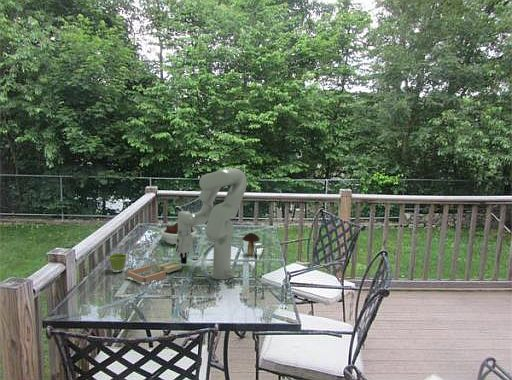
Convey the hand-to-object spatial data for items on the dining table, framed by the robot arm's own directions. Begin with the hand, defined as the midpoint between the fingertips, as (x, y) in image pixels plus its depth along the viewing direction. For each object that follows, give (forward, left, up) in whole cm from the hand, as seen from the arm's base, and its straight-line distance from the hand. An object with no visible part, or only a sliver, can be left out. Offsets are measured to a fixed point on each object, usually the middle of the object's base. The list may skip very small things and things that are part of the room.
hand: (183, 263), depth 238 cm
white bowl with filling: (+40, -33, -2) cm, 52 cm away
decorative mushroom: (-14, -46, -2) cm, 48 cm away
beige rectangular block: (0, +10, -2) cm, 11 cm away
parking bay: (0, +26, -2) cm, 26 cm away
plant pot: (+20, +30, -2) cm, 36 cm away
